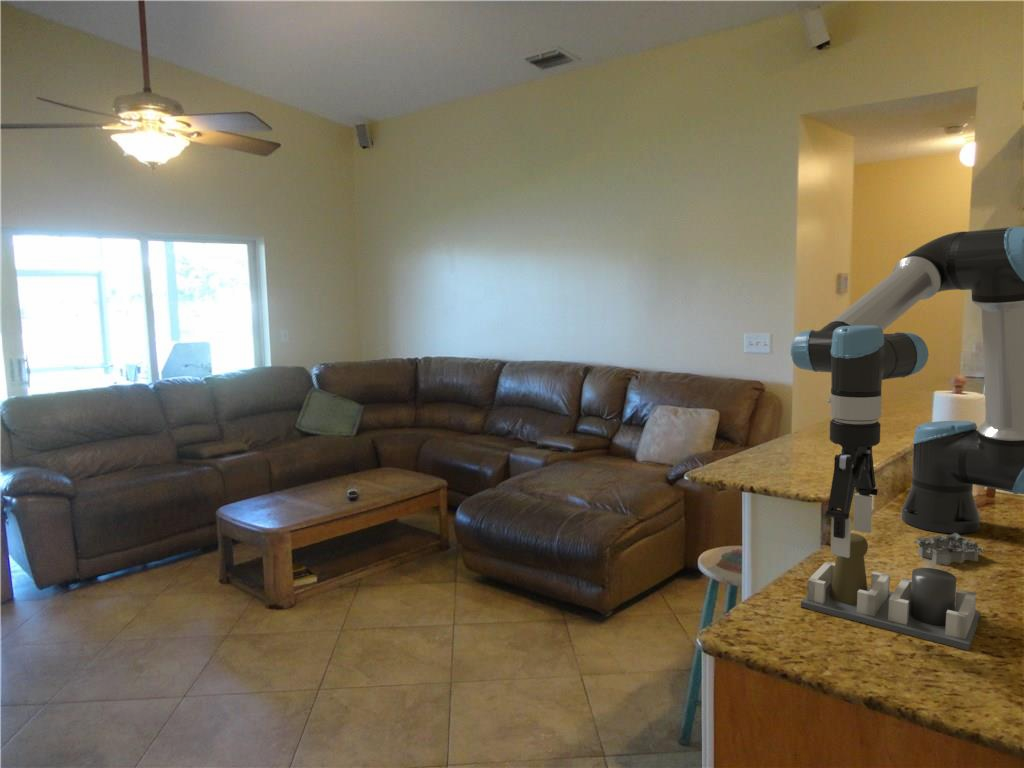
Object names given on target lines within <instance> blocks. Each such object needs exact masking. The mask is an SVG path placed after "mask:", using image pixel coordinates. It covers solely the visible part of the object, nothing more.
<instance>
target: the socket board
mask: <svg viewBox="0 0 1024 768" xmlns="http://www.w3.org/2000/svg"><path fill="white" fill-rule="evenodd" d="M834 568H835V562H831V561H827V560H826V561H824V562H823V564H822V565H821V566H819V568H818V569H817V570H816V571H815V572H814V573H813V574H812V575H811V576H810V577H809V578H808V579H807V585H806V586H807V590H806V596H804V597H803V598H802V599H801V601H800V608H802V607H805V608H804V609H806V608H809V609H808V610H810V609H812V610H811V611H813V610H815V611H814V612H817V611H818V612H817V613H821V612H822V614H825V613H826V614H825V615H830V616H834V617H838V618H841V619H844V618H845V619H844V620H848V619H849V621H852V620H853V621H852V622H856V621H858V622H857V623H860V622H862V623H861V624H864V623H865V625H868V624H869V625H868V626H872V627H876V628H879V629H883V630H888V631H891V632H895V633H900V634H902V633H903V635H907V636H910V637H915V638H919V639H921V640H922V639H923V640H927V641H930V642H934V643H937V644H941V645H942V644H943V645H946V646H950V647H953V648H957V649H961V650H965V651H968V652H969V651H970V648H971V645H972V643H973V639H974V637H975V634H976V631H977V628H978V625H979V623H980V620H979V619H981V611H976V607H977V606H976V602H977V601H976V600H977V593H976V592H972V591H967V590H962V589H958V588H957V577H956V576H955V574H953V573H951V572H948V571H946V570H944V569H937V568H932V567H918V568H914V569H913V570H912V571H911V572H912V573H911V578H906V577H902V579H901V580H900V582H899V583H898V585H897V586H896V587H895V589H894V591H890V587H891V586H890V583H891V582H890V581H891V574H887V573H882V572H878V571H872V572H871V577H870V578H871V579H870V581H871V582H870V586H867V590H868V591H865V590H860V589H859V590H858V592H857V605H850V604H844V603H841V602H838V601H836V600H834V599H832V598H831V597H830V590H831V584H832V579H833V573H834ZM978 622H979V623H978Z"/></svg>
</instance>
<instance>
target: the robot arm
mask: <svg viewBox="0 0 1024 768" xmlns="http://www.w3.org/2000/svg"><path fill="white" fill-rule="evenodd" d="M954 290H955V291H956V290H957V291H958V290H960V291H965V290H966V291H967V290H968V291H969V290H970V291H971V302H972V303H974V305H977V306H978V307H979V308H980V310H981V328H982V329H981V330H982V351H983V352H982V353H983V354H982V356H983V357H982V358H983V373H984V375H983V378H984V399H985V400H984V402H985V403H984V404H985V421H984V422H982V424H980V425H979V426H978V425H977V423H976V422H975V421H970V420H944V421H943V420H941V421H929V422H923V423H921V424H918V425H917V426H916V427H915V430H914V436H913V442H912V445H913V451H912V471H911V472H912V473H911V477H912V478H911V479H912V481H911V487H910V490H909V492H908V494H907V496H906V498H905V501H904V504H903V505H902V508H901V520H902V521H903V522H904V523H906V524H907V525H910V526H913V527H915V528H918V529H922V530H926V531H932V532H934V533H935V532H937V533H942V534H943V533H944V534H954V533H957V534H970V533H974V532H977V531H979V530H980V528H981V516H980V513H979V509H978V506H977V503H976V500H975V497H974V493H973V488H974V487H973V486H980V487H982V488H983V487H984V488H989V489H992V490H993V489H994V490H998V491H1003V492H1007V493H1011V494H1013V495H1019V494H1020V495H1024V226H1018V225H1017V226H1010V227H1009V226H1007V227H999V228H998V227H997V228H991V229H981V230H980V229H979V230H971V231H970V230H969V231H957V232H952V233H951V232H950V233H949V234H945V235H942V236H939V237H936V238H935V239H933V240H930V241H929V242H926V243H925V244H923V245H920V246H919V247H917V248H916V249H914V250H913V251H911V252H909V253H908V254H906V256H904V257H903V258H901V259H900V260H898V262H896V264H895V265H894V267H893V269H892V273H890V274H889V275H888V276H886V277H885V278H884V279H883V280H882V281H880V282H879V283H878V284H876V285H875V286H874V287H873V288H871V289H870V290H869V291H868V292H866V293H865V294H864V295H862V297H860V298H859V299H857V300H856V301H854V303H852V304H851V305H850V306H848V307H847V308H846V309H845V310H844V311H842V312H841V313H840V314H839V315H837V316H836V317H835V318H833V319H832V320H831V321H830V322H829V323H827V324H826V325H825V326H823V327H822V328H821V329H820V330H819V329H818V330H814V329H810V330H804V331H800V332H799V333H797V334H796V335H795V336H794V338H793V339H792V342H791V344H790V357H791V361H792V362H793V364H794V365H795V366H796V367H797V368H798V369H801V370H804V371H805V370H807V371H811V372H815V373H819V372H820V373H831V380H830V381H831V383H830V384H831V385H830V387H831V388H830V397H828V398H827V400H826V401H827V403H828V404H829V405H830V417H831V418H832V419H831V420H830V421H829V440H830V442H831V443H832V444H835V445H839V446H840V447H841V453H839V454H835V456H834V459H833V460H834V462H833V463H834V465H833V467H834V468H833V474H832V480H831V481H832V482H831V487H830V494H829V501H828V508H827V510H825V516H826V517H831V527H830V528H831V529H830V530H831V531H830V555H831V556H832V555H833V556H836V557H837V556H842V557H847V558H849V557H850V533H852V532H851V529H852V527H853V529H852V530H853V531H856V532H862V533H867V534H870V533H871V532H872V511H873V507H872V506H873V496H878V491H879V490H878V489H877V488H876V486H877V484H876V476H875V466H874V458H873V447H875V446H877V445H879V444H880V442H881V423H880V421H878V420H880V419H881V418H882V399H883V398H882V396H883V395H882V386H883V385H882V384H883V381H884V380H890V379H898V378H903V379H904V378H906V377H909V376H912V375H915V374H918V372H921V371H922V370H923V369H924V368H925V366H927V365H926V364H927V362H928V360H929V356H930V355H929V349H928V346H927V343H926V342H925V340H924V339H923V338H921V336H920V335H917V334H915V333H912V332H911V333H910V332H899V331H898V332H894V333H884V331H885V330H886V329H887V328H888V327H890V326H891V325H892V324H893V323H894V322H895V321H897V320H898V319H899V318H900V317H901V316H903V315H904V314H905V313H906V312H908V311H909V310H910V309H911V308H912V307H914V306H915V304H917V303H918V302H919V301H920V300H928V299H930V298H932V297H934V295H936V294H937V293H941V292H944V291H945V292H946V291H954ZM854 492H856V493H854ZM852 503H853V524H852V523H851V521H852V518H851V517H850V512H851V507H852ZM851 524H852V525H853V526H852V525H851ZM851 526H852V527H851Z"/></svg>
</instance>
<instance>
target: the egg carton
mask: <svg viewBox="0 0 1024 768" xmlns="http://www.w3.org/2000/svg"><path fill="white" fill-rule="evenodd" d="M914 544H916V545H918V551H917V555H918V557H919V556H920V557H919V558H921V557H925V558H924V559H929V558H930V559H929V560H931V563H933V564H935V565H942V564H944V565H943V566H950V565H951V563H958V564H963V562H964V563H965V561H972V562H979V554H980V553H983V550H985V547H984V546H981V547H980V546H978V543H977V542H973V541H972V540H971V539H968V538H967V537H962V536H961V535H960V533H950V534H948V535H942V536H940V535H937V536H932V537H931V536H930V537H927V538H926V537H922V536H920V537H917V538H916V540H915V541H914Z"/></svg>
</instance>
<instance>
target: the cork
mask: <svg viewBox="0 0 1024 768" xmlns="http://www.w3.org/2000/svg"><path fill="white" fill-rule="evenodd" d="M868 548H869V543H868V541H867V539H866V538H865V537H864V536H862V535H861V534H858V533H852V532H850V557H849V558H847V557H842V556H837V555H836V557H835V562H834V563H835V568H834V573H833V579H832V584H831V590H830V597H831V598H832V599H834V600H836V601H838V602H841V603H844V604H850V605H857V592H858V590H859V589H860V590H865V591H868V590H867V587H868V580H867V573H866V565H865V564H866V562H865V556H866V555H867V553H868V550H869V549H868Z"/></svg>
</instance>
